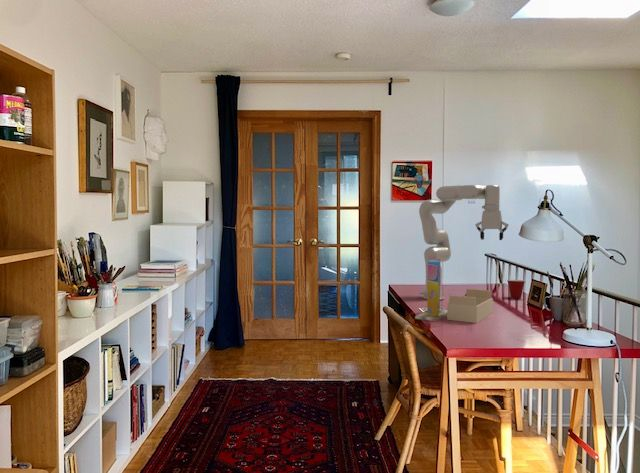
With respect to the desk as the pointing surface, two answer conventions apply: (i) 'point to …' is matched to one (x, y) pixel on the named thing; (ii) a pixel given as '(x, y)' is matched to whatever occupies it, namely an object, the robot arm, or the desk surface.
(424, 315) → the white glove
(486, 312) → the carton
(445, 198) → the robot arm
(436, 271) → the game box
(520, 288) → the plastic cup
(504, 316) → the desk surface
